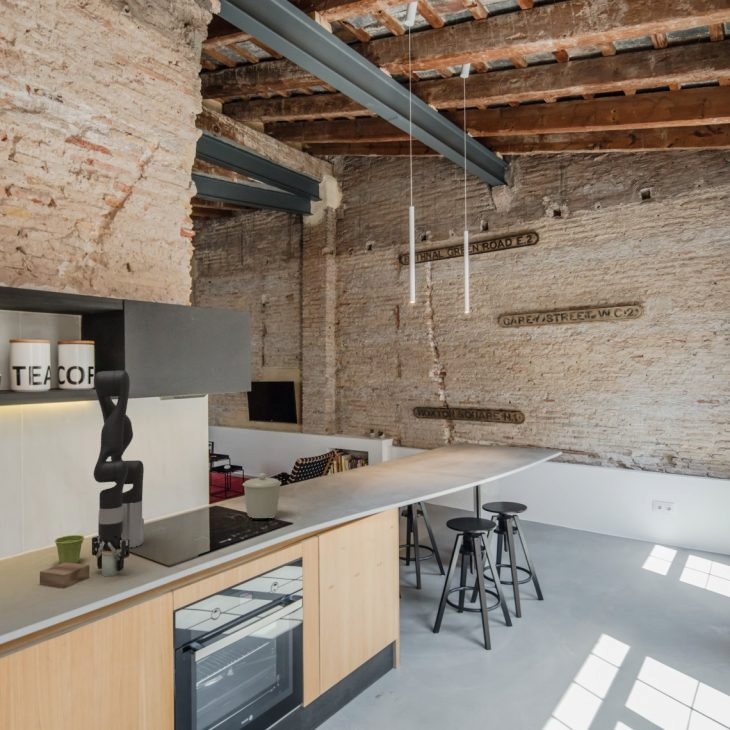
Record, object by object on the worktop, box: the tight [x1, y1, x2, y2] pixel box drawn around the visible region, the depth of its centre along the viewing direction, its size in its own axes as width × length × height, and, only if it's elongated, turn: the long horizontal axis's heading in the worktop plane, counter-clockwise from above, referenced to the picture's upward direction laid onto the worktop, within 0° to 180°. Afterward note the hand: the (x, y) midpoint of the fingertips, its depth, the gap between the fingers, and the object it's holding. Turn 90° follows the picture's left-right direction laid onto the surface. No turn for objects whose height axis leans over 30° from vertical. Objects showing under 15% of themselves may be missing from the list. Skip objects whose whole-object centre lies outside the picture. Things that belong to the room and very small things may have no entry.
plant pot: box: [54, 534, 85, 565], centre depth 196 cm, size 9×9×9 cm
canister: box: [242, 472, 282, 518], centre depth 259 cm, size 18×18×21 cm
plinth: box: [39, 562, 90, 589], centre depth 178 cm, size 10×10×4 cm
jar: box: [101, 549, 120, 577], centre depth 185 cm, size 5×5×8 cm
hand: (110, 569), depth 185 cm, fingers open, 7 cm apart
